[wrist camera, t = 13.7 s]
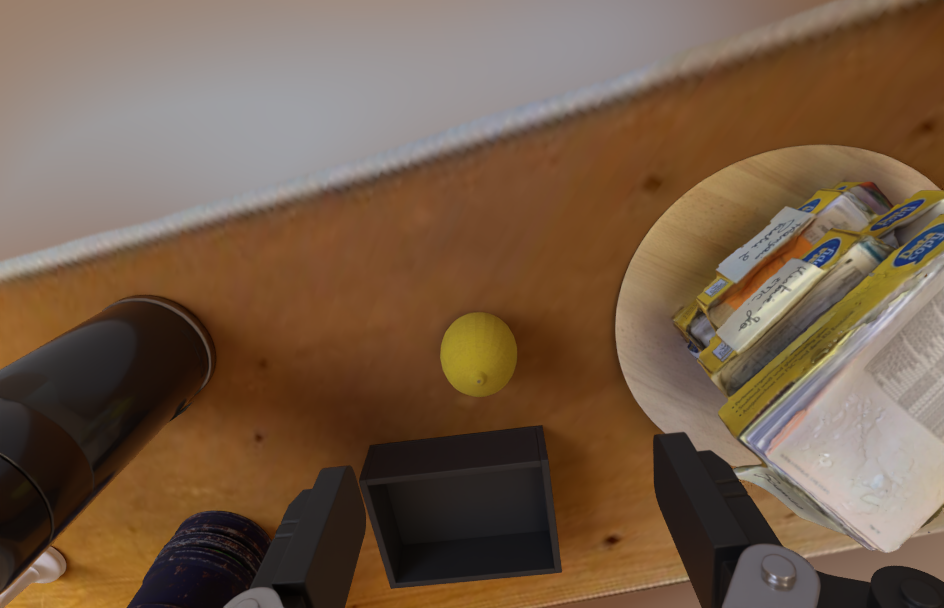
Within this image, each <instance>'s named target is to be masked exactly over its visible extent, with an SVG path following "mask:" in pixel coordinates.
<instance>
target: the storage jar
mask: <svg viewBox="0 0 944 608" xmlns="http://www.w3.org/2000/svg"><path fill="white" fill-rule="evenodd" d="M270 544H271V540H270V538H269V537H268V535H267V534H266V533H265V532H264V531H263V530H262V529H261V528H260V527H259V526H258V525H257V524H255V523H254V522H252V521H250V520H249V519H247V518H245V517H242V516H240V515H237V514H234V513H230V512H224V511H207V512H202V513H198V514H195V515H193V516H191V517H189V518H188V519H186V520H185V521H184V522H183V523H182V524H181V525H180V527H179V528H178V530H177V531H176V533H175V535H174V536H173V537H172V538H171V540H170V541H169V542H168V543H167V544H166V545H165V546H164V548H163V549H162V550H161V552H160V553H159V555H158V556H157V558H156V559H155V561H154V563H153V564H152V566H151V568H150V569H149V571H148V572H147V574H146V575H145V577H144V580H143V584H142V586H141V588H140V589H139V591H138V592H137V593H136V595H135V596H134V598H133V599H132V601H131V602H130V604H129V605H128V606H127V608H223V607H224V606H225V605H226V604H227V603H228V602H229V601H231V600H232V599H233V598H234V597H236V596H237V595H239V594H241V593H243V592H244V591H247V590H249V589H250V587H251V584H252V582H253V580H254V578H255V576H256V574H257V572H258V570H259V568H260V565H261V563H262V561H263V559H264V557H265V555H266V553H267V551H268V549H269V546H270Z"/></svg>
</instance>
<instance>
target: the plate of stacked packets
mask: <svg viewBox="0 0 944 608" xmlns="http://www.w3.org/2000/svg"><path fill="white" fill-rule="evenodd" d="M830 342H832V343H830ZM616 344H617V351H618V357H619V361H620V365H621V368H622V371H623V374H624V377H625V380H626V382H627V384H628V386H629V388H630V390H631V392H632V394H633V396H634V398H635V399H636V401H637V402H638V404H639V405H640V407H641V408H642V409H643V411H644V412H645V413H646V414H647V416H648V417H649V418H650V419H651V420H652V421H653V422H654V423H655V424H656V425H657V426H658V427H659V428H660V429H661V430H662V431H663V432H665V433H676V432H685V433H686V434H687V435H688V437H689V438H690V440H691V442H692V443H693V445H694V447H695V448H696V450H697V451H704V450H711V451H713V452H714V453H715V454H717V455H718V456H719V457H721V458H722V459H724V460H725V461H726V462H728V464H729V465H732V466H736V468H734V469H732V470H733V471H734V473H735V474H736V476H737V477H738V479H741V480H746V481H749V482H752V483H754V484H757V485H758V486H760V487H762V488H764V489H766V490H767V491H768V492H770V493H771V494H773V495H774V496H775V497H777V498H778V499H779V500H780V501H781V502H783V503H784V504H785V505H786V506H787V507H788V508H789V509H791V510H793V511H794V513H796V514H797V515H798V516H799V517H801V518H803V519H805V520H809V521H811V522H814V523H817V524H819V525H821V526H823V527H826V528H829V529H832V530H834V531H837V532H840V533H842V534H845V535H848V536H849V537H851V538H853V539H854V540H855V541H857V542H858V543H860V544H861V545H862V546H864V547H865V548H866V549H868V550H872V551H875V550H879V551H882V552H885V553H888V552H892V551H896V550H898V549H899V548H900V546H901V545H903V543H904V542H905V541H906V540H907V539H908V538H909V537H910V536H912V535H913V534H914V533H915V532H916V531H917V530H918V529H919V528H922V527H923V526H925V525H926V524H928V523H930V522H931V521H932V520H933V519H934V518H936V517H937V516H938V515H939V514H940V512H941V511H942V508H943V507H944V190H940V189H939V188H938V187H937V186H936V185H935V184H934V183H933V182H931V181H930V180H929V179H928V178H926V177H925V176H923V175H922V174H920V173H919V172H918V171H916V170H914V169H913V168H911V167H909V166H907V165H906V164H903V163H901V162H900V161H897V160H895V159H893V158H890V157H888V156H885V155H882V154H879V153H876V152H872V151H868V150H864V149H859V148H854V147H847V146H837V145H806V146H796V147H789V148H783V149H778V150H774V151H770V152H766V153H762V154H759V155H756V156H753V157H750V158H747V159H744V160H742V161H739V162H737V163H735V164H733V165H730V166H728V167H726V168H724V169H722V170H720V171H718V172H717V173H715V174H713V175H711V176H710V177H708V178H706V179H705V180H703V181H702V182H700V183H699V184H697V185H696V186H694V187H693V188H692V189H690V190H689V191H688V192H687V193H685V194H684V195H683V196H682V197H681V198H679V199H678V200H677V201H676V202H675V203H674V204H673V205H672V206H671V207H670V208H669V209H668V210H667V211H666V212H665V213H664V214H663V215H662V216H661V217H660V218H659V219H658V221H657V222H656V223H655V224H654V226H653V227H652V228H651V229H650V231H649V232H648V233H647V235H646V236H645V238H644V239H643V241H642V242H641V244H640V246H639V247H638V249H637V251H636V253H635V255H634V256H633V258H632V260H631V263H630V265H629V267H628V269H627V272H626V275H625V277H624V280H623V283H622V287H621V290H620V295H619V299H618V304H617V312H616ZM928 533H930V532H928Z"/></svg>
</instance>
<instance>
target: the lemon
mask: <svg viewBox="0 0 944 608" xmlns="http://www.w3.org/2000/svg"><path fill="white" fill-rule="evenodd" d="M440 358H441V363H442V368H443V371H444V373H445V375H446V377H447V379H448V381H449V382H450V383H451V384H452V385H453V386H454V388H455V389H457V390H458V391H460V392H461V393H464V394H466V395H469V396H474V397H484V396H488V395H491V394H494V393H496V392H498V391H499V390H501V389H502V388H503V387H504V386H505V385H506V384H507V383H508V382H509V380H510V378H511V377H512V375H513V373H514V370H515V366H516V363H517V345H516V341H515V338H514V335H513V333H512V332H511V330H510V329H509V327H508V326H507V325H506V324H505V323H504V322H503V321H502V320H501V319H500V318H498V317H496V316H494V315H492V314H488V313H485V312H474V313H469V314H466V315H464V316H462V317H460V318H458V319H457V320H456V321H455V322H453V323H452V324H451V326H450V327H449V328H448V330H447V331H446V333H445V335H444V338H443V341H442V344H441V353H440Z"/></svg>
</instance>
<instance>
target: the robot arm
mask: <svg viewBox="0 0 944 608" xmlns="http://www.w3.org/2000/svg"><path fill="white" fill-rule="evenodd" d="M215 363H216V356H215V349H214V345H213V342H212V340H211V338H210V336H209V334H208V332H207V330H206V329H205V327H204V326H203V325H202V324H201V322H200V321H199V320H198V319H197V318H196V317H195V316H194V315H193V314H192V313H190V312H189V311H188V310H186V309H185V308H183V307H182V306H180V305H178V304H176V303H174V302H172V301H170V300H167V299H164V298H161V297H156V296H150V295H135V296H130V297H126V298H123V299H121V300H119V301H117V302H115V303H113V304H112V305H110V306H108V307H107V308H105V309H104V310H103V311H102V312H100V313H99V314H97V315H95V316H93V317H92V318H90V319H88V320H86V321H84V322H83V323H81V324H79V325H77V326H76V327H74V328H72V329H70V330H69V331H67V332H65V333H63V334H62V335H60V336H58V337H56V338H55V339H53V340H51V341H50V342H48V343H46V344H44V345H43V346H41V347H39V348H37V349H36V350H34V351H32V352H30V353H29V354H27V355H25V356H23V357H22V358H20V359H18V360H17V361H15V362H13V363H11V364H10V365H8V366H6V367H4V368H3V369H1V370H0V595H1V594H2V593H4V592H5V591H6V590H7V589H8V588H10V587H11V586H12V585H13V584H14V583H15V582H16V581H17V580H18V579H19V578H20V577H21V576H22V575H23V574H24V573H25V572H26V571H27V570H28V569H29V568H30V567H31V566H32V565H33V563H34V562H35V561H36V560H37V559H38V558H39V557H40V556H41V555H42V554H43V553H44V552H45V551H46V550H47V549H48V548H49V547H50V546H51V545H52V544H53V543H54V542H55V541H56V540H57V538H58V537H59V536H60V535H61V534H62V533H63V532H64V531H65V530H66V529H67V528H68V527H69V526H70V525H71V524H72V523H73V522H74V521H75V520H76V519H77V518H78V516H79V515H80V514H81V513H82V512H83V511H84V510H85V509H86V508H87V507H88V506H89V505H90V504H91V503H92V501H93V500H94V499H95V498H96V497H97V496H98V495H99V494H100V493H101V492H102V491H103V490H104V489H105V488H106V487H107V486H108V485H109V484H110V483H111V482H112V481H113V480H114V478H115V477H116V476H117V475H118V474H119V473H120V472H121V471H122V470H123V469H124V468H125V467H126V466H127V465H128V464H129V463H130V462H131V461H132V460H133V459H134V458H135V457H136V455H137V454H138V453H139V452H140V451H141V450H142V449H143V448H144V447H145V446H146V445H147V444H148V443H149V442H150V441H151V440H152V439H153V438H154V437H155V436H156V435H157V433H158V432H159V431H160V430H161V429H162V428H163V427H164V426H165V425H166V424H167V423H168V422H170V421H171V420H172V419H174V418H175V417H177V416H178V415H179V414H181V413H182V412H184V411H185V410H186V409H187V408H188V407H189V406H190V405H191V403H192V402H191V403H190V404H189V405H187V406H186V407H184V408H183V409H182V407H183V406H184V405H185V404H186V403H187V402H188V401H189V400H190V399H191V398H192V397H193V396H195V395H196V394H197V393H198V392H199V391H200V390H201V389H202V388H203V387H204V386H205V385H206V384H207V383H208V382H209V380H210V379H211V377H212V375H213V372H214V369H215ZM181 409H182V410H181ZM653 454H654V487H655V493H656V498H657V501H658V504H659V507H660V510H661V512H662V514H663V517H664V519H665V522H666V524H667V526H668V529H669V531H670V533H671V536H672V538H673V541H674V543H675V545H676V548H677V550H678V552H679V555H680V557H681V559H682V562H683V564H684V567H685V569H686V571H687V574H688V576H689V578H690V581H691V583H692V586H693V588H694V590H695V592H696V595H697V597H698V599H699V602H700V605H701V607H702V608H944V582H943V581H941V580H939V579H938V578H936V577H934V576H932V575H930V574H928V573H925V572H922V571H920V570H917V569H913V568H910V567H904V566H887V567H883V568H881V569H879V570H877V571H876V572H875V573H874V574H873V576H872V578H871V583H869V582H865V581H859V580H854V579H848V578H843V577H837V576H832V575H828V574H824V573H822V572H819V571H816V570H815V569H814V567H813V566H812V565H811V564H810V563H809V562H808V561H807V560H806V559H805V558H803V557H802V556H800V555H799V554H798V553H796V552H794V551H792V550H790V549H788V548H785V547H783V545H782V544H781V543H780V541H779V540H778V538H777V537H776V535H775V533H774V532H773V530H772V529H771V527H770V526H769V524H768V523H767V521H766V520H765V518H764V517H763V515H762V514H761V512H760V511H759V509H758V508H757V506H756V505H755V503H754V502H753V500H752V498H751V497H750V495H748V494H747V491H746V489H745V488H744V486H743V485H742V483H741V482H739V479H738V477H737V476H736V474H735V473H734V471H733V470H732V468H731V467H730V465H729V464H728V462H726V461H725V460H724V459H722V458H721V457H719V456H718V455H717V454H715V453H714V452H713V451H711V450H704V451H697V450H696V448H695V447H694V445H693V443H692V442H691V440H690V438H689V437H688V435H687V434H686V433H685V432H676V433H666V434H657V435H654V439H653ZM365 529H366V513H365V508H364V504H363V501H362V497H361V494H360V490H359V487H358V483H357V480H356V476H355V473H354V470H353V468H352V467H351V466H350V465H349V466H339V467H329V468H323V469H322V470H321V471H320V473H319V475H318V477H317V480H316V482H315V484H314V486H313V489H307V490H303V491H302V492H301V493H300V494H299V495H298V496H297V497H296V498H295V499H294V500H293V501H292V502H291V504H290V505H289V506H288V508H287V510H286V513H285V515H284V517H283V519H282V521H281V525H279V527H278V530H277V532H276V534H275V539H273V540H272V542H271V544H270V546H269V549H268V551H267V553H266V555H265V557H264V559H263V561H262V563H261V565H260V568H259V570H258V572H257V574H256V576H255V578H254V580H253V582H252V584H251V587H250V589H249V590H247V591H244V592H243V593H241V594H239V595H237V596H236V597H234V598H233V599H232V600H231V601H229V602H228V603H227V604H226V605H225V606H224V607H223V608H345V605H346V601H347V597H348V594H349V590H350V586H351V583H352V579H353V575H354V572H355V568H356V564H357V561H358V557H359V553H360V549H361V546H362V542H363V538H364V535H365Z"/></svg>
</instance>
